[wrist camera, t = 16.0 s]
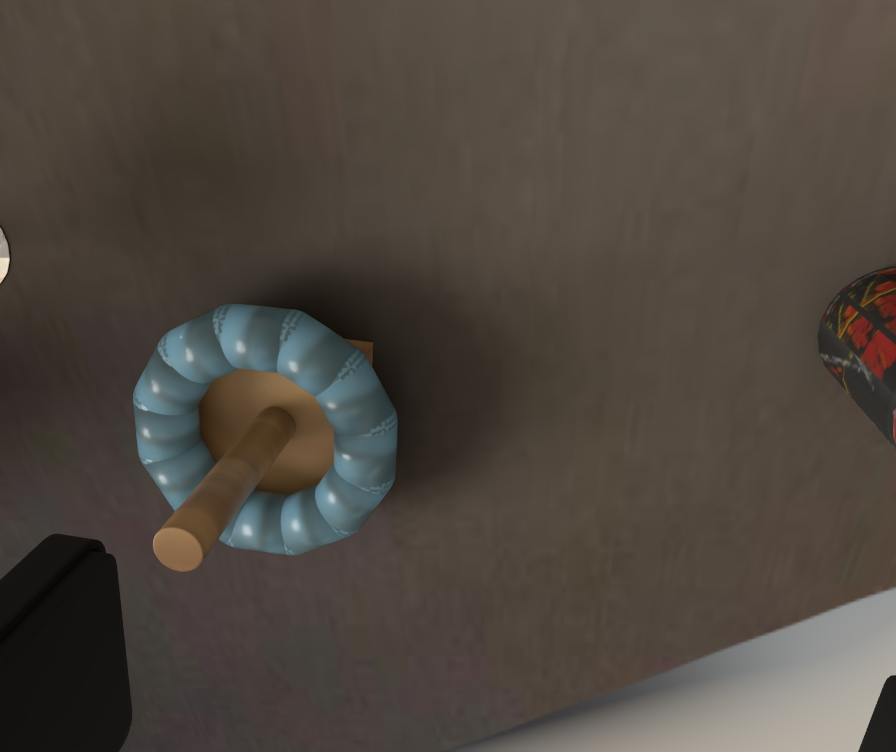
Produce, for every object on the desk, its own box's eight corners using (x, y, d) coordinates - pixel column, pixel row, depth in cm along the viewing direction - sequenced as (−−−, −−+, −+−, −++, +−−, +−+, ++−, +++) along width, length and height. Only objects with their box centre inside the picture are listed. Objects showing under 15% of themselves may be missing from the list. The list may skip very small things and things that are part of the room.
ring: (142, 285, 38) (109, 303, 35) (407, 312, 36) (394, 332, 34) (164, 515, 43) (136, 546, 40) (397, 546, 41) (385, 580, 39)
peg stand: (200, 320, 40) (51, 428, 28) (373, 342, 39) (292, 461, 27) (207, 475, 43) (77, 626, 32) (366, 497, 42) (292, 662, 31)
